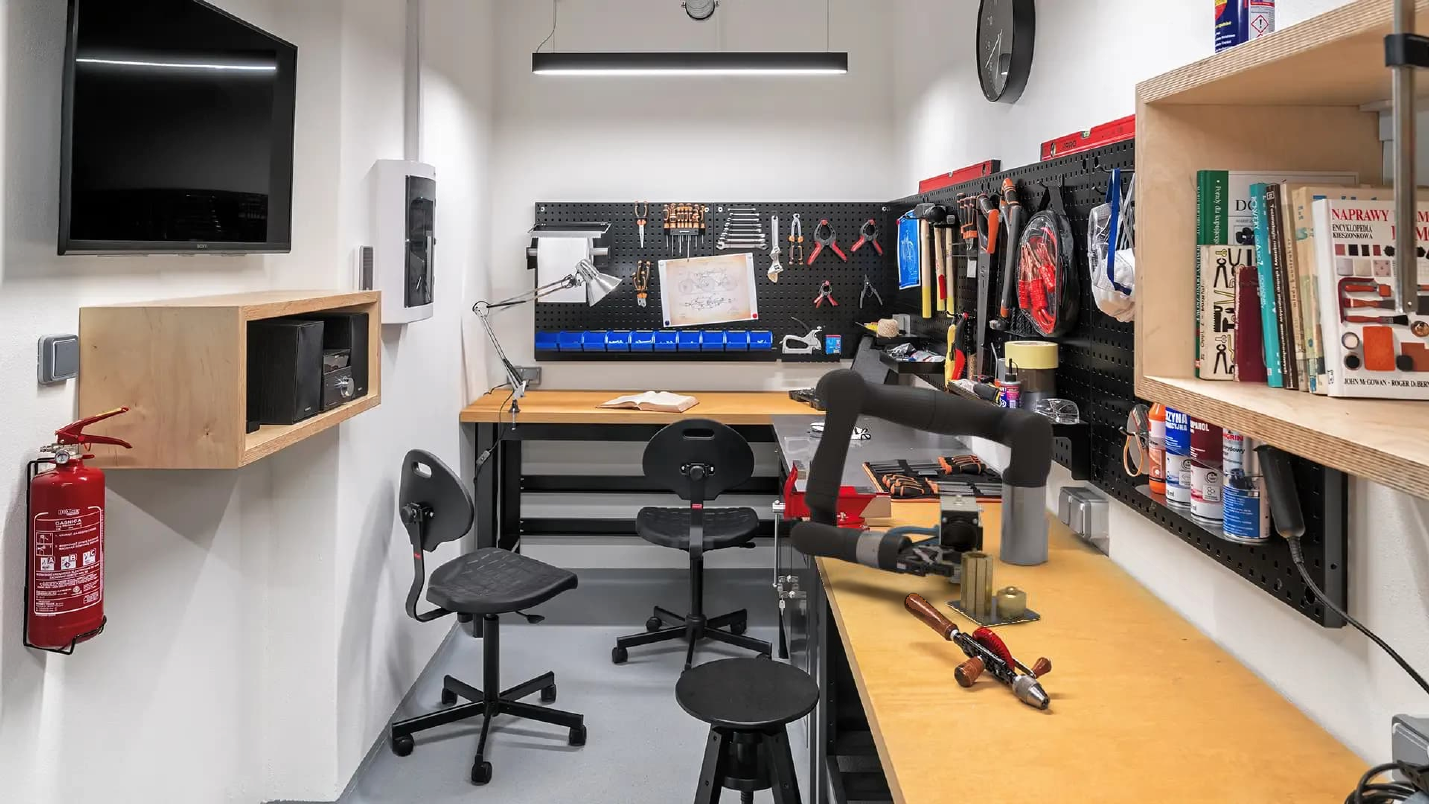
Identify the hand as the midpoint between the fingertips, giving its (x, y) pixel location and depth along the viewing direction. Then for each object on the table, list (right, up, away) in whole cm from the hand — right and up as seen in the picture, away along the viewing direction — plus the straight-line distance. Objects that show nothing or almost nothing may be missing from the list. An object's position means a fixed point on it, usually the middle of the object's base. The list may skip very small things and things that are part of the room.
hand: (962, 565), depth 177 cm
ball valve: (+4, -6, +18) cm, 20 cm away
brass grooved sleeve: (+2, -8, -1) cm, 8 cm away
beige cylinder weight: (+8, -9, -4) cm, 13 cm away
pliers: (+3, -3, +39) cm, 40 cm away
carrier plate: (+5, -8, -1) cm, 10 cm away
